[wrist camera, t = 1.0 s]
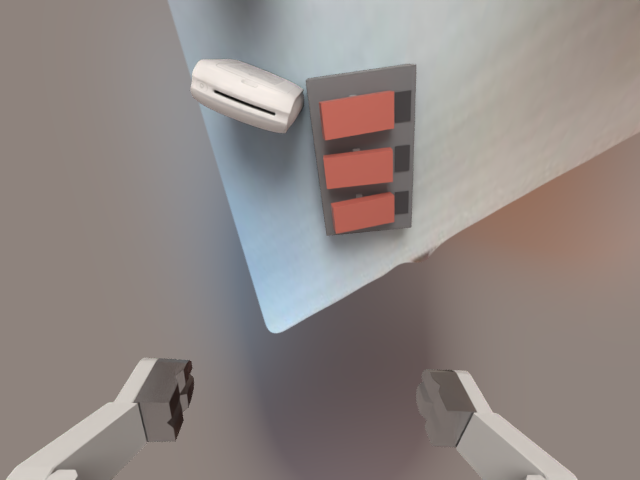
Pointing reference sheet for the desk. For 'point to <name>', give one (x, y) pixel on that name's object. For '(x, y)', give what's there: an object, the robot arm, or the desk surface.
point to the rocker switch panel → (369, 138)
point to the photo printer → (247, 93)
